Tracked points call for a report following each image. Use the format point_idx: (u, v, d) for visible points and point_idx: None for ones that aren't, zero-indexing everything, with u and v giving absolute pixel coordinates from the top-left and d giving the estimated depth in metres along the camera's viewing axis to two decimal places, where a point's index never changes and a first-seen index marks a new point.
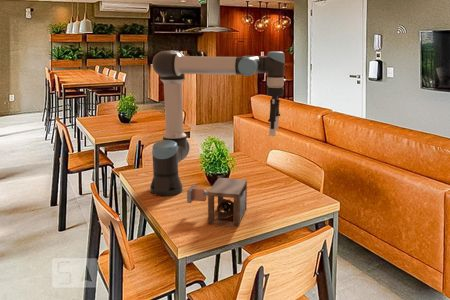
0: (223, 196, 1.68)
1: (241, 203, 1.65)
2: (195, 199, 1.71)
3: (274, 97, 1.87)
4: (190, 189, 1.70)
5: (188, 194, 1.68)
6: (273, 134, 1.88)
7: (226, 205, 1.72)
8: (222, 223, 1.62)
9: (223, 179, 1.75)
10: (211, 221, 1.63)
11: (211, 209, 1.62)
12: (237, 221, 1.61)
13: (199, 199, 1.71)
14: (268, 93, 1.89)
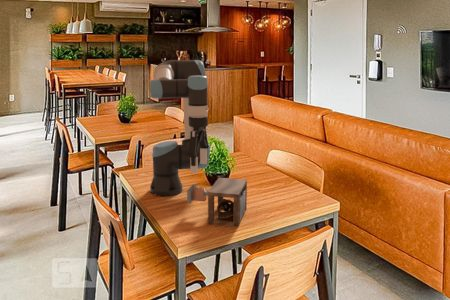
0: (223, 196, 1.68)
1: (241, 203, 1.65)
2: (195, 199, 1.71)
3: (196, 128, 1.61)
4: (190, 189, 1.70)
5: (188, 194, 1.68)
6: (195, 171, 1.61)
7: (226, 205, 1.73)
8: (222, 223, 1.62)
9: (223, 179, 1.75)
10: (211, 221, 1.63)
11: (211, 209, 1.62)
12: (237, 221, 1.61)
13: (199, 199, 1.71)
14: (189, 124, 1.62)
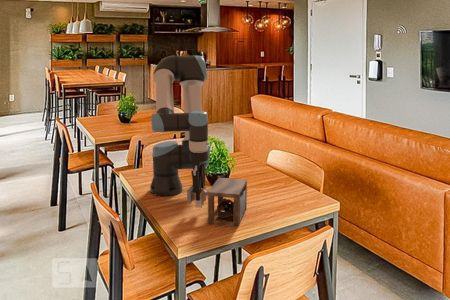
0: (223, 196, 1.68)
1: (241, 203, 1.65)
2: None
3: (196, 163, 1.64)
4: (190, 189, 1.70)
5: (188, 194, 1.68)
6: (199, 205, 1.71)
7: (226, 205, 1.73)
8: (222, 223, 1.62)
9: (223, 179, 1.75)
10: (211, 221, 1.63)
11: (211, 209, 1.62)
12: (237, 221, 1.61)
13: None
14: (190, 158, 1.66)
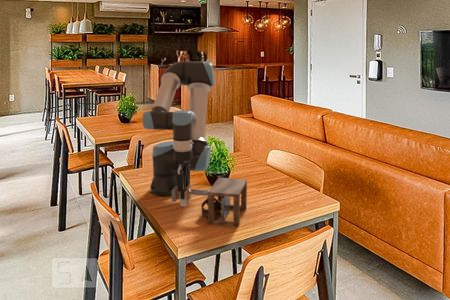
0: (207, 195, 1.69)
1: (225, 202, 1.66)
2: None
3: (180, 162, 1.66)
4: (175, 188, 1.71)
5: (173, 193, 1.69)
6: (184, 204, 1.72)
7: None
8: (222, 223, 1.62)
9: (223, 179, 1.75)
10: (211, 221, 1.63)
11: (211, 209, 1.62)
12: (237, 221, 1.61)
13: None
14: (174, 157, 1.67)
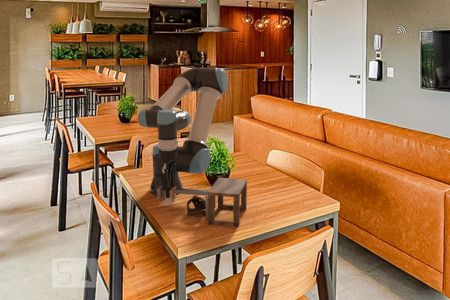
0: (192, 194, 1.71)
1: None
2: None
3: (165, 161, 1.67)
4: (160, 187, 1.72)
5: (158, 192, 1.71)
6: (169, 203, 1.73)
7: (197, 202, 1.76)
8: (222, 223, 1.62)
9: (223, 179, 1.75)
10: (211, 221, 1.63)
11: (211, 209, 1.62)
12: (237, 221, 1.61)
13: None
14: (159, 156, 1.68)
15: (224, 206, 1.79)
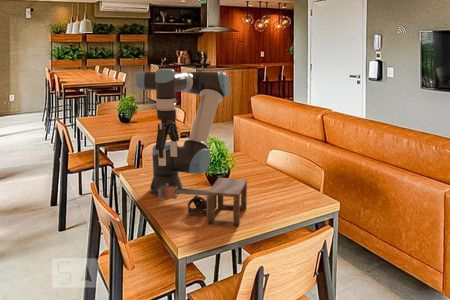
0: (193, 194, 1.71)
1: None
2: (166, 197, 1.74)
3: (163, 121, 1.63)
4: (161, 187, 1.72)
5: (159, 192, 1.71)
6: (163, 164, 1.64)
7: (198, 202, 1.76)
8: (222, 223, 1.62)
9: (223, 179, 1.75)
10: (211, 221, 1.63)
11: (211, 209, 1.62)
12: (237, 221, 1.61)
13: (170, 197, 1.73)
14: (157, 116, 1.64)
15: (224, 206, 1.79)
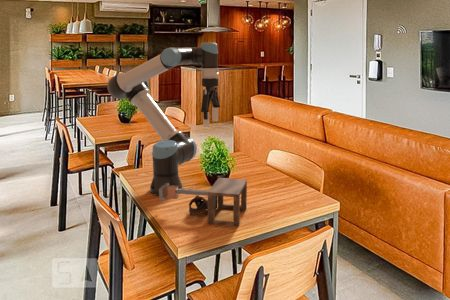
0: (194, 194, 1.71)
1: None
2: (167, 197, 1.74)
3: (207, 88, 1.88)
4: (162, 187, 1.72)
5: (160, 192, 1.71)
6: (207, 125, 1.89)
7: (199, 202, 1.76)
8: (222, 223, 1.62)
9: (223, 179, 1.75)
10: (211, 221, 1.63)
11: (211, 209, 1.62)
12: (237, 221, 1.61)
13: (171, 197, 1.73)
14: (202, 84, 1.90)
15: (224, 206, 1.79)
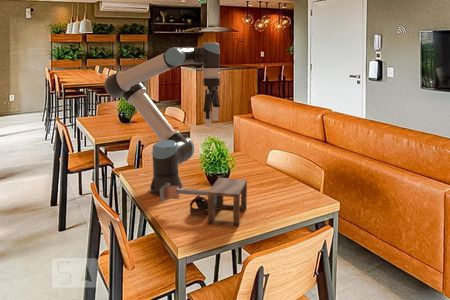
0: (195, 194, 1.71)
1: None
2: (168, 197, 1.74)
3: (209, 87, 1.90)
4: (163, 187, 1.72)
5: (161, 192, 1.70)
6: (209, 124, 1.90)
7: (200, 202, 1.76)
8: (222, 223, 1.62)
9: (223, 179, 1.75)
10: (211, 221, 1.63)
11: (211, 209, 1.62)
12: (237, 221, 1.61)
13: (172, 197, 1.73)
14: (204, 84, 1.91)
15: (224, 206, 1.79)
